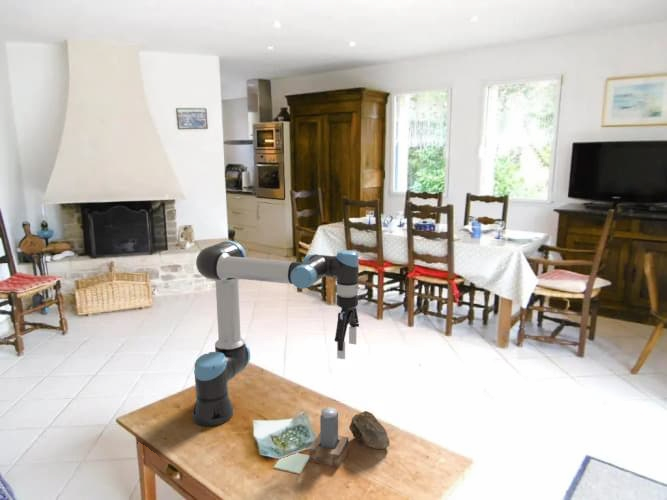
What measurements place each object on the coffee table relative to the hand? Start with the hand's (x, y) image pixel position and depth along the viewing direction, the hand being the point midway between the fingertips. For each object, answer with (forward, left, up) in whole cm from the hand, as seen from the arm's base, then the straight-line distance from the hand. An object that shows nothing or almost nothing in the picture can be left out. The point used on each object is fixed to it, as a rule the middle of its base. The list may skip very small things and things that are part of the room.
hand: (347, 350), depth 171 cm
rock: (+12, -10, -28) cm, 32 cm away
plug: (+1, -21, -28) cm, 35 cm away
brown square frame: (+1, -21, -28) cm, 35 cm away
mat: (-9, -29, -28) cm, 41 cm away
